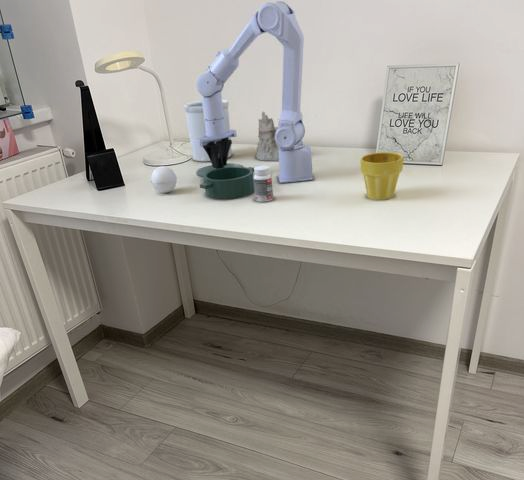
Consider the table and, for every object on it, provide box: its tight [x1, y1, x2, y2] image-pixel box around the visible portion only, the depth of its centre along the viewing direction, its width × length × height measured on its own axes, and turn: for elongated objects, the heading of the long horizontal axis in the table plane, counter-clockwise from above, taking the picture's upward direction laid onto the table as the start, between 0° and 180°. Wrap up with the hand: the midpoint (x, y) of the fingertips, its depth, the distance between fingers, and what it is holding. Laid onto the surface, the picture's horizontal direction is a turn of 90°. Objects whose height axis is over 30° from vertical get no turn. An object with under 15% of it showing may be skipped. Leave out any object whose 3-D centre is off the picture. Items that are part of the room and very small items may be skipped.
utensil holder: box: [183, 99, 233, 162], centre depth 185 cm, size 15×15×18 cm
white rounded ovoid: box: [150, 165, 178, 194], centre depth 154 cm, size 10×7×7 cm
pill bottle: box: [253, 165, 274, 203], centre depth 142 cm, size 5×5×8 cm
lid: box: [195, 156, 245, 179], centre depth 164 cm, size 15×15×5 cm
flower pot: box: [359, 151, 404, 201], centre depth 136 cm, size 10×10×10 cm
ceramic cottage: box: [255, 111, 279, 162], centre depth 180 cm, size 16×16×15 cm
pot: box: [199, 166, 255, 201], centre depth 151 cm, size 14×19×5 cm
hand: (219, 166), depth 164 cm, fingers closed on lid, 2 cm apart
